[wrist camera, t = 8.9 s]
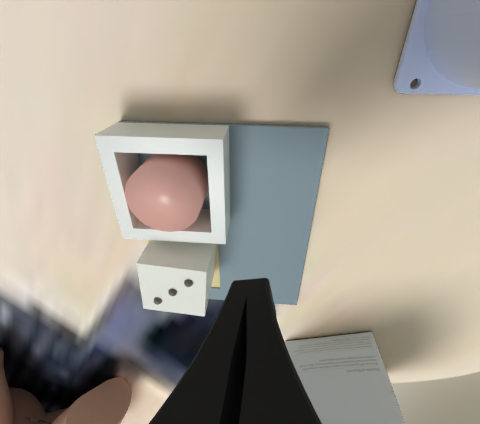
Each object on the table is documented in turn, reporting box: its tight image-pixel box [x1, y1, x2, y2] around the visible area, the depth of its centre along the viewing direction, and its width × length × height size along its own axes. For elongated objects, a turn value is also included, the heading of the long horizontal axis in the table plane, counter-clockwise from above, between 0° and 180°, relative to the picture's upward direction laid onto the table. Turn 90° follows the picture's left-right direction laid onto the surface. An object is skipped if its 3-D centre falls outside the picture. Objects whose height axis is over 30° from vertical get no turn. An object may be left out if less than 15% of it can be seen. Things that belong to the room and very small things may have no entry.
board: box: [119, 121, 329, 305], centre depth 21 cm, size 13×16×1 cm
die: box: [137, 240, 216, 316], centre depth 20 cm, size 4×4×5 cm
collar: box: [94, 122, 230, 244], centre depth 17 cm, size 7×7×3 cm
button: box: [125, 154, 209, 232], centre depth 17 cm, size 4×4×3 cm
